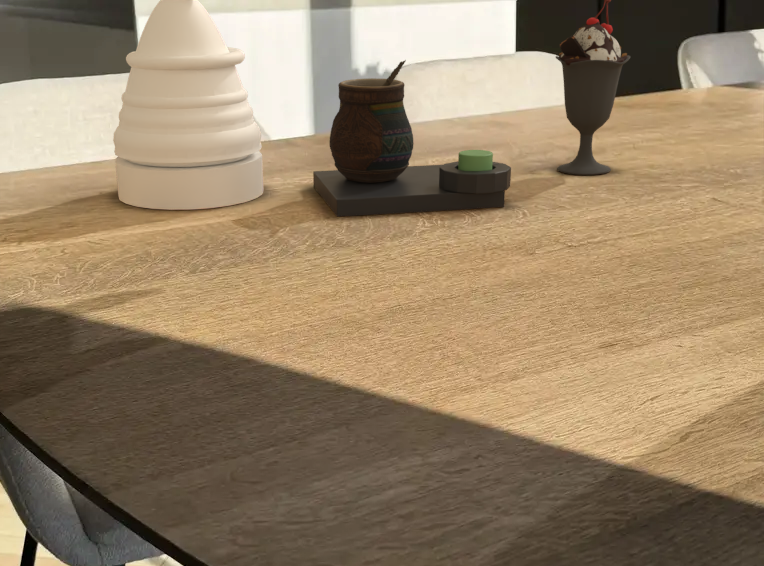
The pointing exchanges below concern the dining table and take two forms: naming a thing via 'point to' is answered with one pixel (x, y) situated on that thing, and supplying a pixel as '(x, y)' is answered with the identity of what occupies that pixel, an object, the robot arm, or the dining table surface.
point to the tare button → (475, 160)
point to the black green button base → (415, 190)
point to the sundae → (590, 87)
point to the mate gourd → (371, 130)
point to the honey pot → (186, 117)
